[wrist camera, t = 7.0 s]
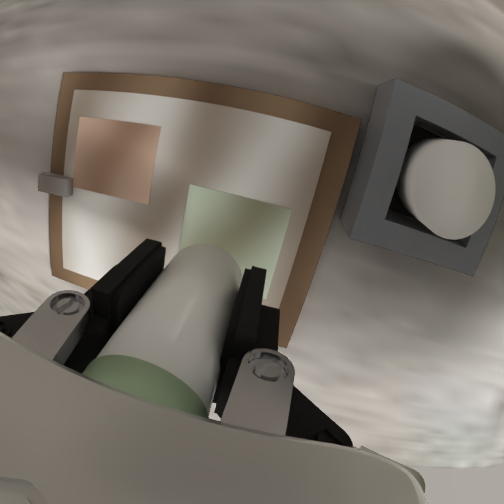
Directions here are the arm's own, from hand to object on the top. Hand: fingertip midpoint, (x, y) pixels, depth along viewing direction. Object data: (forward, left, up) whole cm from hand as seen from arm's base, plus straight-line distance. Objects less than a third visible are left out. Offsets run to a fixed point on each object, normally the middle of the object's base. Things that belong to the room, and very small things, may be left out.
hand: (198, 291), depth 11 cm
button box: (-9, -6, -6) cm, 12 cm away
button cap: (-9, -6, -4) cm, 11 cm away
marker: (0, 0, -1) cm, 1 cm away
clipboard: (+3, -1, -6) cm, 7 cm away
